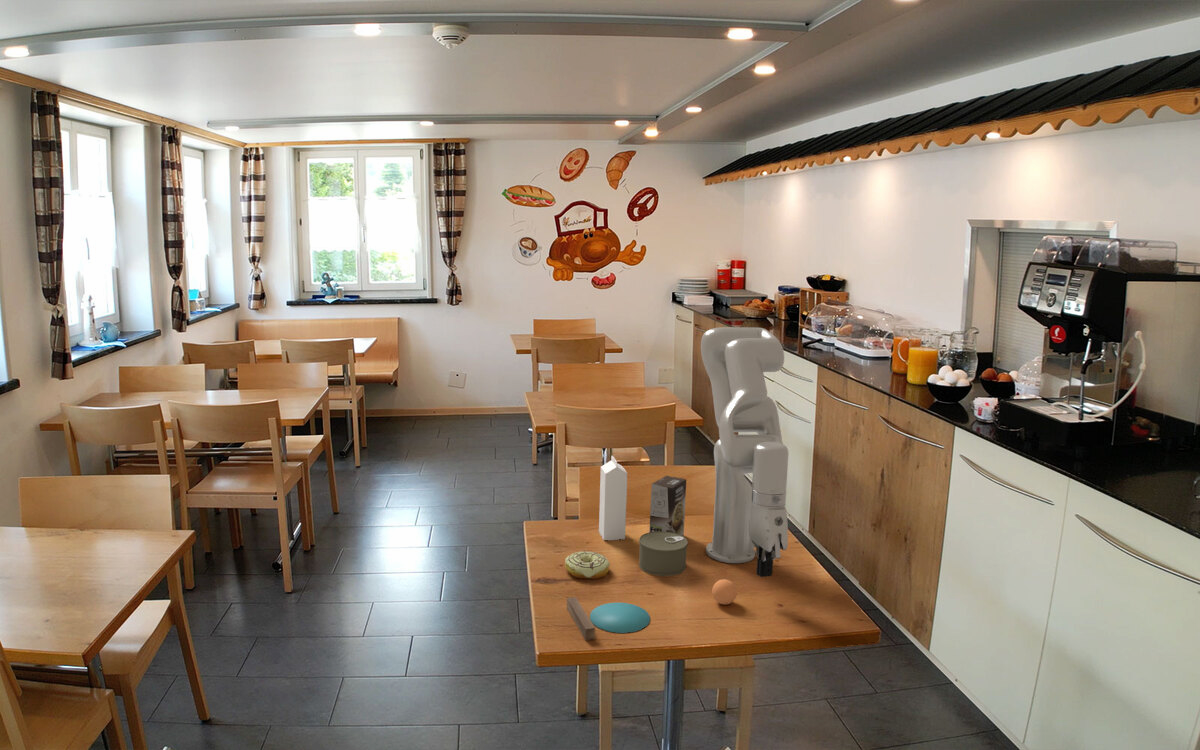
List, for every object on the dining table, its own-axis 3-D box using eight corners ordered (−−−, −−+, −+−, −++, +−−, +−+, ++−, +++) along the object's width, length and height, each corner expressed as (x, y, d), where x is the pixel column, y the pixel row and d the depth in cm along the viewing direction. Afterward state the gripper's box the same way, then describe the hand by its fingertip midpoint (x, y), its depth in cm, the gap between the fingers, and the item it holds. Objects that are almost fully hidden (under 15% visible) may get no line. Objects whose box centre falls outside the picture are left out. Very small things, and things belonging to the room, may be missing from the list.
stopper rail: (575, 607, 179) (575, 597, 179) (594, 639, 166) (595, 627, 166) (566, 608, 178) (566, 598, 178) (585, 640, 165) (585, 629, 165)
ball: (729, 596, 186) (730, 573, 185) (740, 607, 181) (741, 584, 180) (707, 599, 185) (708, 576, 183) (718, 610, 179) (719, 587, 178)
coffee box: (669, 546, 213) (672, 488, 210) (648, 540, 217) (650, 483, 213) (684, 535, 221) (687, 478, 218) (663, 529, 224) (666, 474, 221)
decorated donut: (592, 585, 190) (592, 571, 189) (556, 573, 196) (556, 559, 195) (616, 570, 199) (617, 556, 198) (581, 559, 205) (582, 545, 204)
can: (630, 560, 204) (631, 534, 203) (671, 553, 209) (672, 528, 208) (652, 580, 194) (653, 553, 192) (695, 572, 198) (696, 546, 197)
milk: (619, 531, 223) (622, 454, 218) (625, 539, 217) (628, 461, 213) (598, 532, 221) (600, 455, 217) (603, 541, 215) (605, 461, 211)
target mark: (637, 600, 183) (637, 599, 183) (659, 628, 171) (659, 627, 171) (582, 607, 179) (582, 606, 179) (600, 636, 167) (600, 635, 167)
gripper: (801, 506, 175) (796, 586, 178) (766, 486, 189) (762, 561, 192) (770, 509, 172) (766, 590, 175) (737, 489, 186) (734, 564, 189)
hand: (764, 575), depth 184 cm, fingers closed
